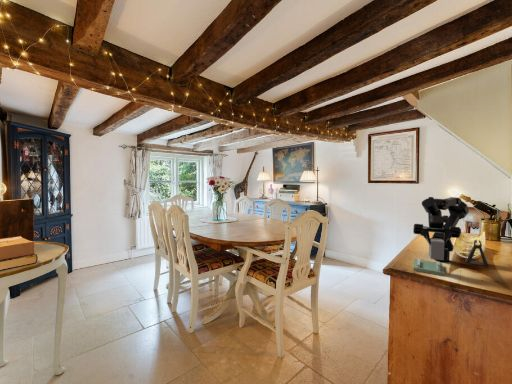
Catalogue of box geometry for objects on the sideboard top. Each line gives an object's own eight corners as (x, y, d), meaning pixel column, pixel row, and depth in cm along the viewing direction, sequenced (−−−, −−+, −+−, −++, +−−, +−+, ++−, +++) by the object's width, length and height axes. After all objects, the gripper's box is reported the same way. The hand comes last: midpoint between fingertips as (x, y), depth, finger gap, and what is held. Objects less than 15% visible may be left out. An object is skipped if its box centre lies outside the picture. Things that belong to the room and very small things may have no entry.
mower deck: (442, 265, 126) (442, 260, 126) (444, 276, 114) (444, 269, 113) (414, 261, 133) (414, 256, 133) (413, 270, 120) (413, 264, 120)
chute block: (441, 257, 121) (441, 239, 120) (443, 260, 116) (444, 241, 116) (428, 255, 123) (429, 238, 122) (430, 258, 118) (431, 240, 118)
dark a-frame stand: (465, 262, 131) (466, 240, 130) (465, 260, 136) (466, 238, 135) (488, 266, 125) (490, 243, 124) (487, 263, 130) (489, 241, 129)
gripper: (414, 208, 126) (414, 233, 117) (461, 210, 117) (465, 238, 108) (413, 220, 133) (413, 245, 125) (457, 224, 124) (460, 251, 115)
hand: (436, 245), depth 118 cm, fingers closed on chute block, 5 cm apart
